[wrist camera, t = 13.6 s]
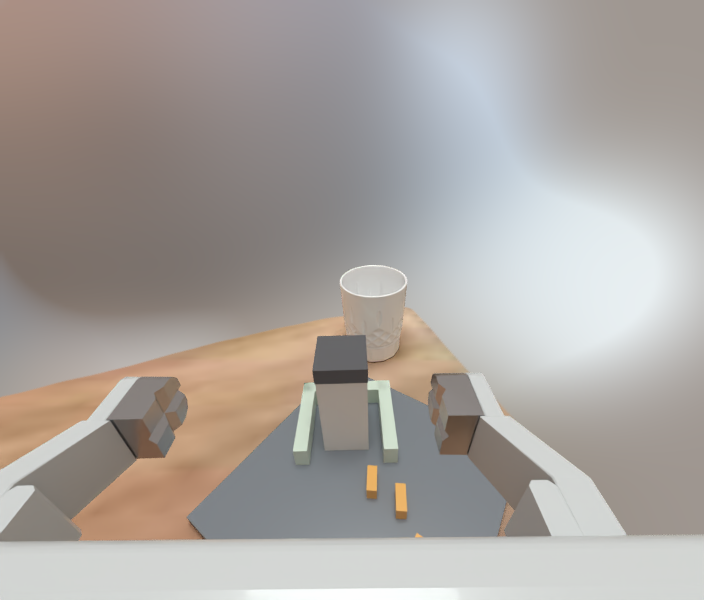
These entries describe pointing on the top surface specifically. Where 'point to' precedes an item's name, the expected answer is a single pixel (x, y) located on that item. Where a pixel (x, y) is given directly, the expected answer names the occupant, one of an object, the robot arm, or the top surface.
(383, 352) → the white cup
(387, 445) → the end holder
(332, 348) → the beige container
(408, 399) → the board
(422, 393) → the top surface
